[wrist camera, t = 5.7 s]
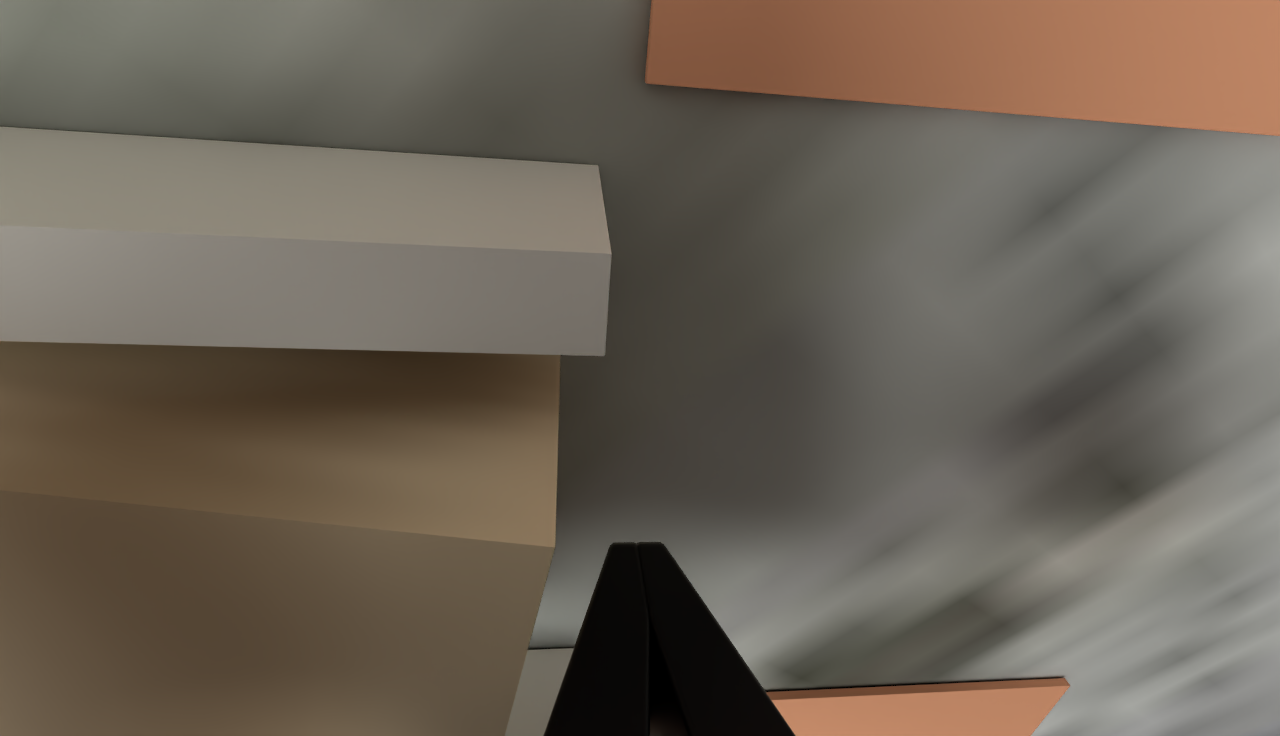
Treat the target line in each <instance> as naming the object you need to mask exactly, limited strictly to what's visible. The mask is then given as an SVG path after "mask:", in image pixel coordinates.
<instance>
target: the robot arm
mask: <svg viewBox="0 0 1280 736" xmlns="http://www.w3.org/2000/svg"><path fill="white" fill-rule="evenodd" d="M543 736H796V735H795V734H794V732H793V731H792V730H791V728H790V727H789V725H788V724H787V722H786V721H785V719H784V718H783V716H782V715H781V714H780V712H779V711H778V709H777V708H776V706H775V705H774V703H773V702H772V700H771V699H770V698H769V696H768V695H767V693H766V692H765V690H764V689H763V687H762V686H761V684H760V683H759V682H758V680H757V679H756V677H755V676H754V674H753V673H752V671H751V670H750V668H749V667H748V666H747V664H746V663H745V661H744V660H743V658H742V657H741V655H740V654H739V653H738V651H737V650H736V648H735V647H734V645H733V644H732V642H731V641H730V639H729V638H728V637H727V635H726V634H725V632H724V631H723V629H722V628H721V626H720V625H719V623H718V622H717V621H716V619H715V618H714V616H713V615H712V613H711V612H710V610H709V609H708V607H707V606H706V605H705V603H704V602H703V600H702V599H701V597H700V596H699V594H698V593H697V591H696V590H695V589H694V587H693V586H692V584H691V583H690V581H689V580H688V578H687V577H686V575H685V574H684V573H683V571H682V570H681V568H680V567H679V565H678V564H677V562H676V561H675V560H674V558H673V557H672V555H671V554H670V552H669V551H668V549H667V548H666V547H665V545H664V544H662V543H661V542H639V543H637V544H636V543H634V542H615V543H612V544H611V545H610V547H609V549H608V552H607V555H606V558H605V561H604V564H603V567H602V569H601V572H600V575H599V578H598V581H597V584H596V587H595V589H594V592H593V595H592V598H591V601H590V604H589V607H588V609H587V612H586V615H585V618H584V621H583V624H582V627H581V629H580V632H579V635H578V638H577V641H576V644H575V647H574V649H573V652H572V655H571V658H570V661H569V664H568V667H567V669H566V672H565V675H564V678H563V681H562V684H561V687H560V689H559V692H558V695H557V698H556V701H555V704H554V707H553V710H552V712H551V715H550V718H549V721H548V724H547V727H546V730H545V732H544V735H543Z"/></svg>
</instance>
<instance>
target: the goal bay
mask: <svg viewBox="0 0 1280 736" xmlns="http://www.w3.org/2000/svg"><path fill="white" fill-rule="evenodd" d="M611 255H612V253H611V247H610V240H609V234H608V227H607V220H606V214H605V207H604V201H603V194H602V187H601V181H600V174H599V168H598V165H586V164H571V163H555V162H540V161H524V160H509V159H494V158H478V157H463V156H447V155H432V154H416V153H401V152H385V151H370V150H354V149H339V148H324V147H308V146H293V145H277V144H262V143H246V142H231V141H215V140H200V139H185V138H169V137H154V136H138V135H123V134H107V133H92V132H76V131H61V130H46V129H30V128H15V127H0V341H18V342H58V343H98V344H138V345H179V346H219V347H259V348H299V349H339V350H379V351H419V352H459V353H499V354H540V355H580V356H605V347H606V332H607V316H608V301H609V286H610V270H611ZM573 649H574V648H568V649H540V650H528V651H527V654H526V658H525V662H524V665H523V669H522V673H521V677H520V680H519V684H518V688H517V692H516V695H515V699H514V703H513V706H512V710H511V714H510V718H509V721H508V725H507V729H506V733H505V736H543V735H544V732H545V730H546V727H547V724H548V721H549V718H550V715H551V712H552V710H553V707H554V704H555V701H556V698H557V695H558V692H559V689H560V687H561V684H562V681H563V678H564V675H565V672H566V669H567V667H568V664H569V661H570V658H571V655H572V652H573Z"/></svg>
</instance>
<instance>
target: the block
mask: <svg viewBox="0 0 1280 736" xmlns="http://www.w3.org/2000/svg"><path fill="white" fill-rule="evenodd" d="M560 356H561V355H540V354H499V353H459V352H419V351H379V350H339V349H299V348H259V347H219V346H179V345H138V344H98V343H58V342H18V341H0V736H505V733H506V729H507V725H508V721H509V718H510V714H511V710H512V706H513V703H514V699H515V695H516V692H517V688H518V684H519V680H520V677H521V673H522V669H523V665H524V662H525V658H526V654H527V651H528V647H529V643H530V639H531V636H532V632H533V628H534V624H535V621H536V617H537V613H538V610H539V606H540V602H541V598H542V595H543V591H544V587H545V583H546V580H547V576H548V572H549V569H550V565H551V561H552V557H553V554H554V550H555V535H556V499H557V463H558V428H559V392H560Z"/></svg>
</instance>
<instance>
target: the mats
mask: <svg viewBox="0 0 1280 736" xmlns="http://www.w3.org/2000/svg"><path fill="white" fill-rule="evenodd" d="M645 82H646V84H658V85H670V86H682V87H694V88H706V89H718V90H730V91H742V92H755V93H767V94H779V95H791V96H803V97H815V98H827V99H839V100H851V101H863V102H876V103H888V104H900V105H912V106H924V107H936V108H948V109H960V110H972V111H984V112H997V113H1009V114H1021V115H1033V116H1045V117H1057V118H1069V119H1081V120H1093V121H1105V122H1118V123H1130V124H1142V125H1154V126H1166V127H1178V128H1190V129H1202V130H1214V131H1226V132H1239V133H1251V134H1263V135H1275V136H1280V0H651V12H650V24H649V36H648V48H647V60H646V73H645ZM1069 687H1070V685H1069V683H1068V682H1067V680H1066V679H1065V678H1057V679H1035V680H1014V681H993V682H971V683H950V684H929V685H907V686H886V687H865V688H843V689H822V690H801V691H779V692H766V693H767V695H768V696H769V698H770V699H771V700H772V702H773V703H774V705H775V706H776V708H777V709H778V711H779V712H780V714H781V715H782V716H783V718H784V719H785V721H786V722H787V724H788V725H789V727H790V728H791V730H792V731H793V732H794V734H795V735H796V736H1031V734H1032V733H1033V732H1034V731H1035V729H1036V728H1037V727H1038V726H1039V724H1040V723H1041V722H1042V721H1043V719H1044V718H1045V717H1046V716H1047V714H1048V713H1049V712H1050V711H1051V709H1052V708H1053V707H1054V706H1055V704H1056V703H1057V702H1058V701H1059V699H1060V698H1061V697H1062V695H1063V694H1064V693H1065V692H1066V690H1067V689H1068V688H1069Z"/></svg>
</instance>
